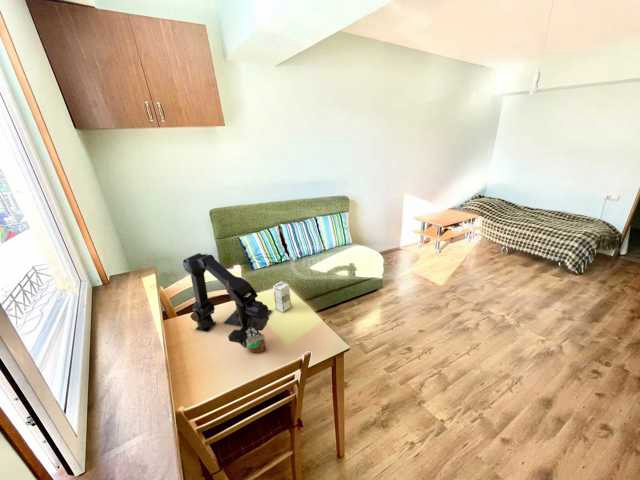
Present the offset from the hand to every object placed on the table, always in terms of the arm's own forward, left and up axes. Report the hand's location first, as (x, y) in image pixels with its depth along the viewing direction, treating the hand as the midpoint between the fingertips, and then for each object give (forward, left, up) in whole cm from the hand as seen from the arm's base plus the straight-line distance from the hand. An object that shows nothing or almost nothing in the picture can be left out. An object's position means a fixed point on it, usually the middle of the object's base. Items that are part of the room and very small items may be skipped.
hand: (251, 339), depth 118 cm
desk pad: (-14, +19, -5) cm, 24 cm away
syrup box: (0, +30, -5) cm, 30 cm away
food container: (0, 0, -5) cm, 5 cm away
